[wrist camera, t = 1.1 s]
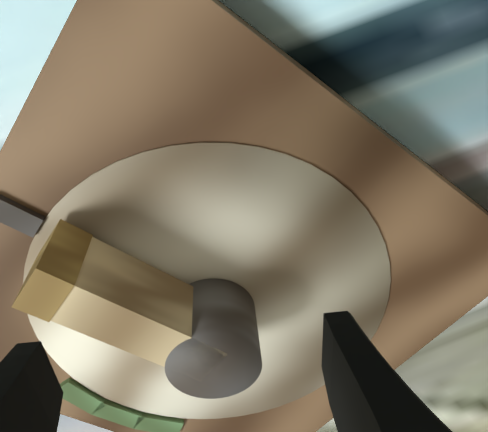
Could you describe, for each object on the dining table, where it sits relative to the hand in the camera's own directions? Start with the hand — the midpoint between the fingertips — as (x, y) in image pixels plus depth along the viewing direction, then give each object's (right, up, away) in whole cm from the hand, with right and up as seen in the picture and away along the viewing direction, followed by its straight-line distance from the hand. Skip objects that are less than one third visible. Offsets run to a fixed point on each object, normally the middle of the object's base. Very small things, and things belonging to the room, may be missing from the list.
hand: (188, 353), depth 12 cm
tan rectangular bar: (-2, 0, +9) cm, 9 cm away
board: (0, 0, +11) cm, 11 cm away
